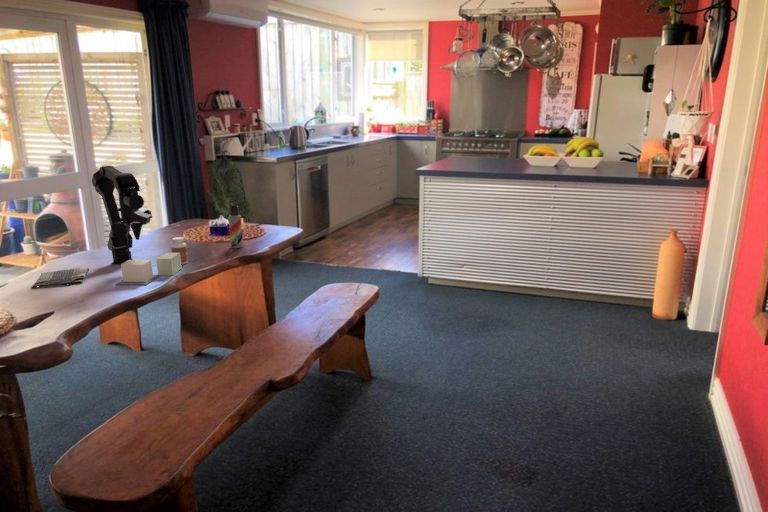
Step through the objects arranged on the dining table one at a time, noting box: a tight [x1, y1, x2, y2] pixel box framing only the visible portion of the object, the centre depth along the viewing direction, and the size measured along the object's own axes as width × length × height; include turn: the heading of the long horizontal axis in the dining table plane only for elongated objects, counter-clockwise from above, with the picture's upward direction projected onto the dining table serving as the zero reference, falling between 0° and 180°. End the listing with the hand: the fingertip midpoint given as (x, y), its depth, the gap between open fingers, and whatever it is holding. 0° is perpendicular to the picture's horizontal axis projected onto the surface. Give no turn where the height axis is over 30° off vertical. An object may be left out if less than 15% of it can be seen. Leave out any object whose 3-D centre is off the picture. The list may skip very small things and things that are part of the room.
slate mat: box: [115, 274, 161, 286], centre depth 219 cm, size 12×12×1 cm
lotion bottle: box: [228, 205, 244, 249], centre depth 265 cm, size 6×6×20 cm
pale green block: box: [156, 252, 183, 277], centre depth 228 cm, size 9×6×7 cm, turn 177°
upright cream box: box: [120, 259, 154, 282], centre depth 218 cm, size 9×6×7 cm, turn 86°
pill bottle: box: [170, 236, 189, 265], centre depth 240 cm, size 6×6×11 cm
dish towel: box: [31, 267, 90, 289], centre depth 221 cm, size 19×18×3 cm
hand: (132, 242), depth 230 cm, fingers open, 9 cm apart
